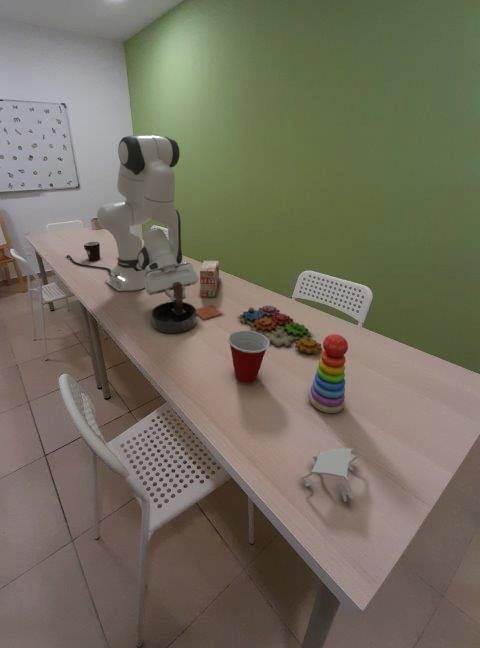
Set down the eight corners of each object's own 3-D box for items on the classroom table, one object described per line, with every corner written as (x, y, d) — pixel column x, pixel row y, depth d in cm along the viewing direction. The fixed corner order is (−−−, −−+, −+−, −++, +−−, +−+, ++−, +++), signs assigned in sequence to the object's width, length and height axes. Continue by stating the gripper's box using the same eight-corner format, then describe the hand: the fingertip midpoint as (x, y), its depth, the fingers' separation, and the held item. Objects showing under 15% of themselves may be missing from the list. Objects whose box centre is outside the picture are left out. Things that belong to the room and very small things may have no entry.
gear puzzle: (334, 350, 92) (337, 338, 91) (294, 365, 86) (295, 353, 85) (270, 308, 118) (271, 299, 117) (235, 317, 112) (235, 308, 110)
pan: (143, 324, 110) (142, 313, 108) (174, 307, 121) (173, 297, 119) (174, 339, 100) (174, 328, 98) (205, 320, 111) (205, 309, 109)
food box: (206, 278, 149) (206, 254, 144) (219, 278, 148) (219, 254, 143) (200, 296, 130) (199, 270, 125) (214, 297, 129) (214, 270, 124)
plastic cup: (274, 375, 83) (278, 338, 78) (251, 395, 76) (254, 357, 71) (242, 358, 90) (244, 323, 85) (218, 375, 83) (219, 339, 78)
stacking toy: (348, 400, 73) (363, 335, 66) (337, 420, 68) (352, 352, 60) (315, 386, 78) (326, 324, 71) (303, 403, 73) (313, 338, 65)
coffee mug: (103, 260, 180) (101, 244, 176) (89, 262, 176) (86, 246, 172) (98, 255, 189) (96, 239, 185) (84, 257, 185) (81, 242, 181)
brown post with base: (171, 316, 113) (169, 282, 107) (180, 313, 115) (179, 279, 109) (177, 322, 109) (175, 286, 103) (187, 319, 110) (185, 284, 105)
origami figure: (341, 520, 50) (347, 502, 48) (296, 482, 56) (299, 465, 54) (371, 474, 57) (377, 456, 55) (328, 444, 62) (332, 427, 60)
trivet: (193, 311, 118) (193, 310, 117) (210, 306, 121) (210, 305, 121) (203, 320, 111) (203, 318, 111) (221, 314, 115) (221, 313, 114)
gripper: (188, 265, 119) (200, 296, 115) (139, 275, 110) (151, 309, 106) (193, 257, 114) (206, 289, 110) (142, 267, 105) (154, 303, 101)
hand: (178, 299), depth 108 cm, fingers closed on brown post with base, 2 cm apart
